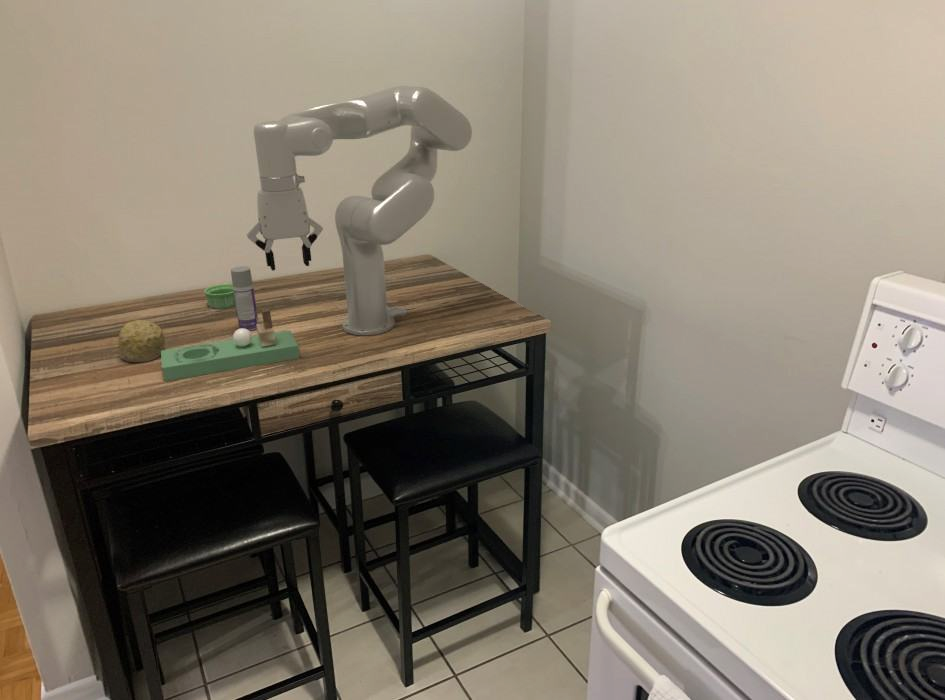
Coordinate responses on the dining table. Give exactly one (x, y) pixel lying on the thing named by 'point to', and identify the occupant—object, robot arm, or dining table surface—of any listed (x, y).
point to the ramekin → (220, 296)
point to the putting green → (226, 356)
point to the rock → (140, 341)
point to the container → (244, 297)
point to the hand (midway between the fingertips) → (289, 266)
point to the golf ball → (242, 337)
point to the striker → (266, 329)
